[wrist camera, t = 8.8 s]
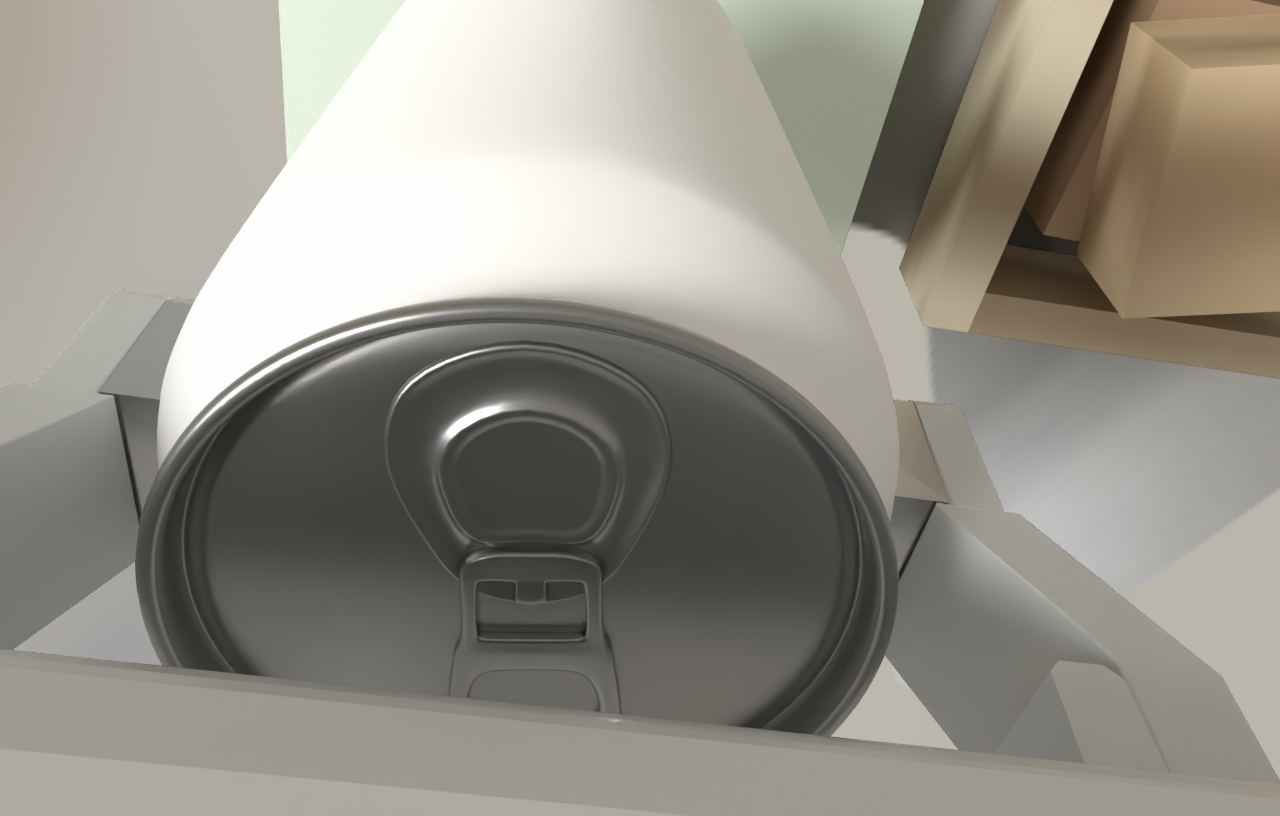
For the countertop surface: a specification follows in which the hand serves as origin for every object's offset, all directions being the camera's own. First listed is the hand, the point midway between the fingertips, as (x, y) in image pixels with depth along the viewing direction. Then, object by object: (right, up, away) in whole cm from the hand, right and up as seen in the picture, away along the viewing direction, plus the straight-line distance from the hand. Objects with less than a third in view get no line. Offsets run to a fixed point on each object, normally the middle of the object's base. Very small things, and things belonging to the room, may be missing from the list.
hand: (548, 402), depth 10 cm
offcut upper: (+15, +6, +13) cm, 21 cm away
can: (0, +5, +7) cm, 9 cm away
